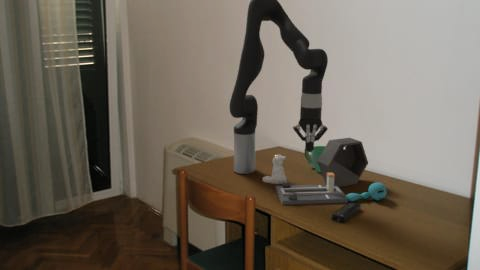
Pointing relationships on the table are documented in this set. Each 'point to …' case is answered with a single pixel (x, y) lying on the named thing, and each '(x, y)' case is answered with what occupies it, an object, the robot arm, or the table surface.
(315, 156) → the mug
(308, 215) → the table surface
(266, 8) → the robot arm
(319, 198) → the console board
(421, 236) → the table surface
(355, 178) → the planter
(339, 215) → the multiport hub
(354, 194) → the toy
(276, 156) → the sitting furry creature
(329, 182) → the fader tab
